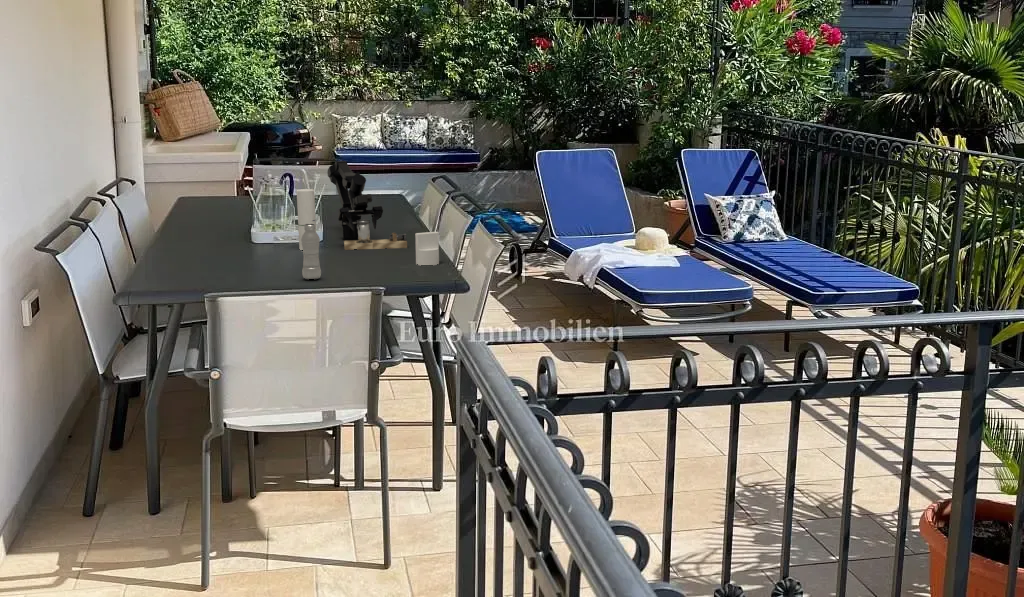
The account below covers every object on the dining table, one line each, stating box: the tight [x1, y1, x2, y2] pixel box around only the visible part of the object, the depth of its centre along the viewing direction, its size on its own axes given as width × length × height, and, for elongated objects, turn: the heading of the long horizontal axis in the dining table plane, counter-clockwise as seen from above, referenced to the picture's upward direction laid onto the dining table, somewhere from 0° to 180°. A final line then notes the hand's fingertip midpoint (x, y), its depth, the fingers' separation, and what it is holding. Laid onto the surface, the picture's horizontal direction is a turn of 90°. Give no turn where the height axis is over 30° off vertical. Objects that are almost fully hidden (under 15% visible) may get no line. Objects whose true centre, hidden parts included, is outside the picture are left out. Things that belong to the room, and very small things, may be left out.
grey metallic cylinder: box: [357, 219, 371, 243], centre depth 426 cm, size 5×5×12 cm
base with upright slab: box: [414, 231, 440, 266], centre depth 392 cm, size 9×9×12 cm
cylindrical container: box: [296, 188, 317, 251], centre depth 419 cm, size 7×7×25 cm
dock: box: [343, 232, 408, 251], centre depth 428 cm, size 26×8×6 cm, turn 101°
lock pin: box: [388, 233, 407, 241], centre depth 429 cm, size 7×2×2 cm, turn 101°
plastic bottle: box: [301, 224, 322, 280], centre depth 363 cm, size 6×7×20 cm
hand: (364, 229), depth 424 cm, fingers open, 9 cm apart
